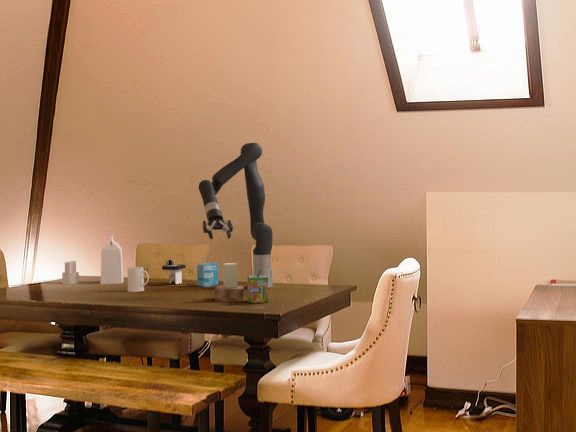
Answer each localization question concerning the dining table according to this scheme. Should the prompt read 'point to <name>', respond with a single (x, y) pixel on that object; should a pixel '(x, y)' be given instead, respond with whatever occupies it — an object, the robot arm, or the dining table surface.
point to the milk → (112, 263)
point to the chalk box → (257, 289)
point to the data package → (207, 274)
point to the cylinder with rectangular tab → (70, 273)
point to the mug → (136, 279)
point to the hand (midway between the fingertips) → (220, 237)
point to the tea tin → (230, 275)
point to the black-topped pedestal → (174, 272)
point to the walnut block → (229, 294)
